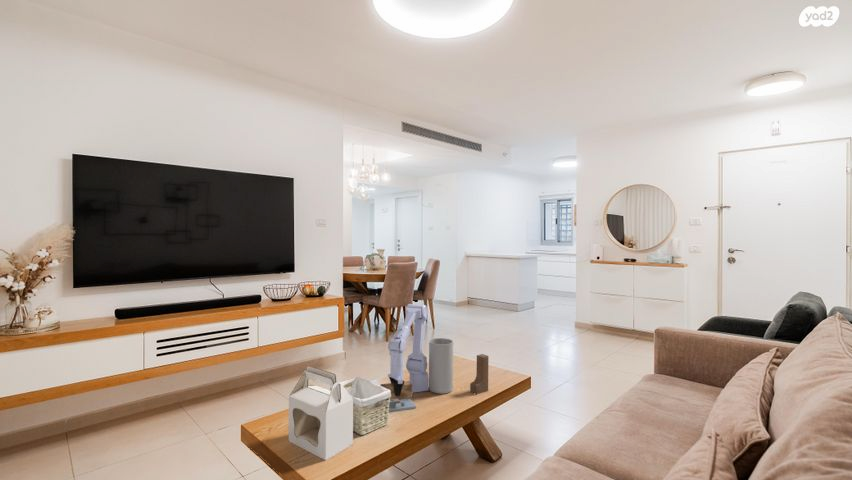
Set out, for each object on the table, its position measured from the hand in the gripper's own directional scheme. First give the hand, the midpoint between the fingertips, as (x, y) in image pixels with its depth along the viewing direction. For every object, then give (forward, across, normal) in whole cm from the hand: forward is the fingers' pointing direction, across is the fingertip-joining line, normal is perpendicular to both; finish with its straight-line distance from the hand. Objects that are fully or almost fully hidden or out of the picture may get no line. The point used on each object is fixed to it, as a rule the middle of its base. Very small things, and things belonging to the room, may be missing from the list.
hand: (396, 394), depth 180 cm
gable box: (+6, +22, -35) cm, 42 cm away
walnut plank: (+1, 0, 0) cm, 1 cm away
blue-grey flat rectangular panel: (+6, 0, 0) cm, 6 cm away
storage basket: (+6, +10, -18) cm, 22 cm away
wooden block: (+6, -5, +45) cm, 46 cm away
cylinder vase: (+6, -13, +27) cm, 31 cm away
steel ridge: (+6, 0, 0) cm, 6 cm away
